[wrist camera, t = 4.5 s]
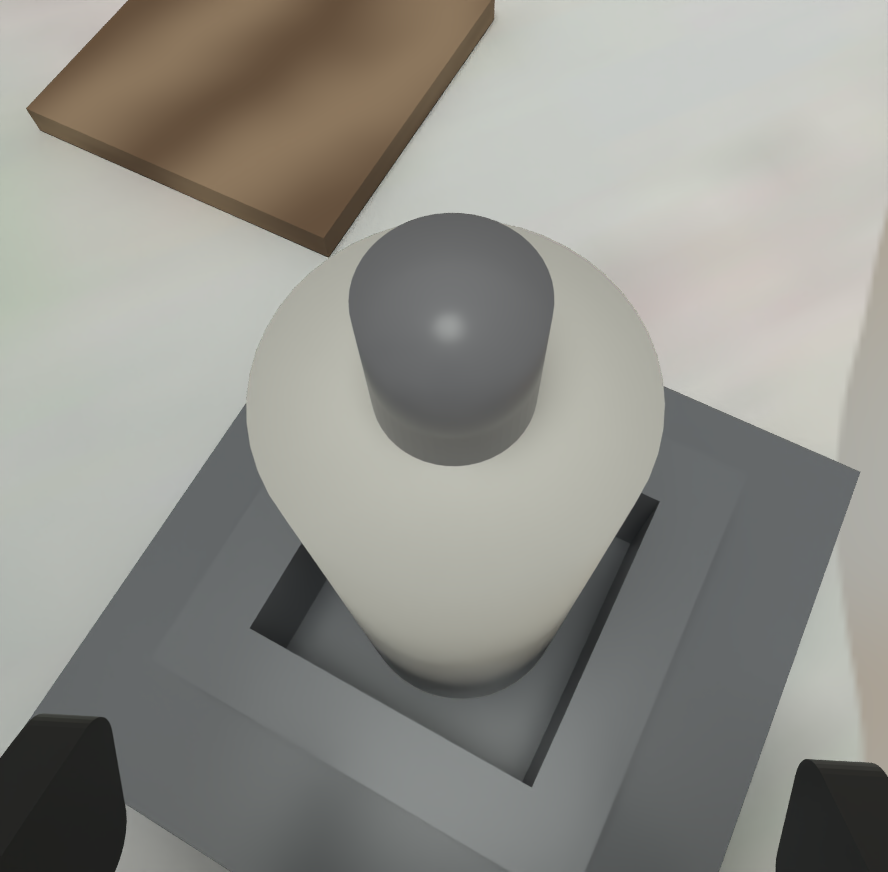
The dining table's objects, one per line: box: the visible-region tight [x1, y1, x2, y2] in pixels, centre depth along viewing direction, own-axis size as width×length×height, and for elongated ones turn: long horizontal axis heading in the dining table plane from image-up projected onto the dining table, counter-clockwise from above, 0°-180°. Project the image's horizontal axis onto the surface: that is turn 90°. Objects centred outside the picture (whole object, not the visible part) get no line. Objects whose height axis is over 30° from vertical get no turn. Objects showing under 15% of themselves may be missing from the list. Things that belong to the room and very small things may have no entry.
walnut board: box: [26, 0, 495, 257], centre depth 29 cm, size 12×12×1 cm
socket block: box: [27, 386, 860, 872], centre depth 20 cm, size 16×16×4 cm
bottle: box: [246, 213, 665, 699], centre depth 14 cm, size 5×5×14 cm
